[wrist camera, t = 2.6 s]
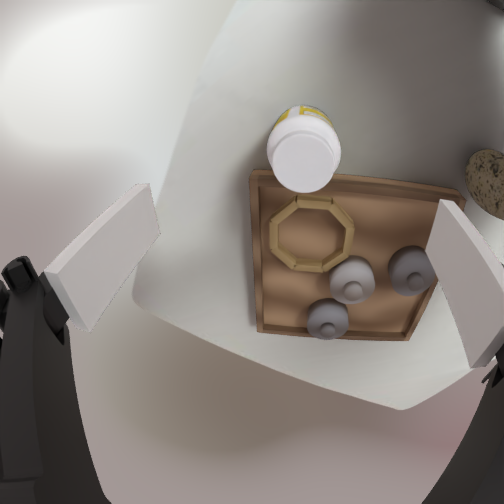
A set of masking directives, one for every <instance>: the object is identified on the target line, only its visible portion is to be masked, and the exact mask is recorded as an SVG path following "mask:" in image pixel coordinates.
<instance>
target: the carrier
mask: <svg viewBox="0 0 504 504" xmlns="http://www.w3.org/2000/svg"><path fill="white" fill-rule="evenodd" d="M249 189H250V208H251V226H252V245H253V264H254V283H255V302H256V321H257V332H260V333H269V334H279V335H290V336H302V337H315V338H318V339H324V340H330V339H348V340H375V341H409V339H410V337H411V336H412V334H413V332H414V330H415V328H416V326H417V324H418V322H419V320H420V318H421V316H422V314H423V312H424V310H425V308H426V306H427V304H428V302H429V300H430V298H431V296H432V293H433V291H434V289H435V287H436V284H437V282H438V277H437V275H436V273H435V271H434V269H433V266H432V264H431V262H430V260H429V258H428V256H427V254H426V252H425V250H426V246H427V243H428V240H429V237H430V234H431V230H432V227H433V223H434V220H435V216H436V212H437V209H438V205H439V201H440V199H443V200H449V201H454V202H455V204H456V205H457V206H458V207H459V208H460V209H461V211H462V212H463V210H464V207H465V203H466V199H465V198H464V197H463V196H462V195H461V194H460V193H459V192H458V191H457V190H455V189H450V188H444V187H438V186H432V185H426V184H419V183H413V182H406V181H398V180H391V179H383V178H374V177H365V176H355V175H344V174H333V176H332V178H331V179H330V181H329V182H328V183H327V184H326V185H325V186H324V187H323V188H321V189H319V190H317V191H314V192H310V193H299V192H295V191H292V190H290V189H288V188H286V187H284V186H283V185H282V184H281V183H280V182H279V181H278V179H277V178H276V176H275V174H274V172H273V170H253V172H252V174H251V176H250V177H249Z"/></svg>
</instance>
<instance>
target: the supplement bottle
mask: <svg viewBox="0 0 504 504" xmlns="http://www.w3.org/2000/svg"><path fill="white" fill-rule="evenodd" d="M267 156H268V160H269V162H270V165H271V167H272V169H273V172H274V174H275V176H276V178H277V179H278V181H279V182H280V183H281V184H282V185H283V186H284V187H286V188H288V189H290V190H292V191H295V192H299V193H310V192H314V191H317V190H319V189H321V188H323V187H324V186H325V185H326V184H327V183H328V182H329V181H330V179H331V178H332V176H333V173H334V172H335V171H336V169H337V167H338V165H339V162H340V159H341V146H340V142H339V139H338V136H337V134H336V132H335V130H334V127H333V125H332V123H331V121H330V120H329V118H328V117H327V116H326V115H325V114H324V113H323V112H322V111H321V110H319V109H317V108H315V107H312V106H307V105H300V106H295V107H292V108H290V109H288V110H287V111H285V112H284V113H283V114H282V115H281V116H280V118H279V119H278V121H277V123H276V125H275V126H274V128H273V130H272V132H271V134H270V136H269V139H268V142H267Z"/></svg>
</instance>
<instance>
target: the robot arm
mask: <svg viewBox="0 0 504 504" xmlns="http://www.w3.org/2000/svg"><path fill="white" fill-rule="evenodd" d="M487 1H489V2H490V3H492V4H493V5H495V6H496V7H498V8H500V9H502V10H504V0H487ZM160 234H161V233H160V229H159V225H158V221H157V216H156V212H155V207H154V203H153V198H152V194H151V189H150V184H136V185H135V186H133V187H132V188H131V189H130V190H128V191H127V192H126V193H125V194H124V195H122V196H121V197H120V198H119V199H118V200H117V201H115V203H113V204H112V205H111V206H110V207H109V208H107V209H106V210H105V211H104V212H103V213H102V214H101V215H100V216H99V217H97V218H96V219H95V220H94V221H93V222H92V223H91V224H90V225H89V226H88V227H87V228H85V229H84V230H83V231H82V232H81V233H80V234H79V235H78V236H77V237H76V238H75V239H74V240H73V241H72V242H71V243H70V244H69V245H68V246H67V247H66V248H65V249H64V250H63V251H62V252H61V253H60V254H59V255H58V256H57V257H56V258H55V259H54V260H53V261H52V262H51V263H50V265H49V266H48V267H47V268H46V269H45V270H44V271H43V272H42V273H41V275H40V276H39V277H38V275H37V273H36V272H35V270H34V268H33V266H32V264H31V262H30V259H29V258H28V257H27V256H21V257H18V258H16V259H14V260H12V261H11V262H10V263H9V264H7V266H6V267H5V268H4V269H3V271H2V273H1V274H2V276H3V278H4V280H5V281H6V283H7V285H8V287H9V288H10V290H7V288H6V286H5V285H4V283H3V281H1V280H0V329H1V330H2V331H3V333H4V334H3V339H1V337H0V504H111V502H109V500H108V499H107V498H106V497H105V495H104V493H103V491H102V488H101V486H100V483H99V480H98V477H97V474H96V471H95V468H94V465H93V461H92V458H91V455H90V451H89V447H88V444H87V440H86V436H85V432H84V428H83V424H82V419H81V415H80V410H79V404H78V399H77V393H76V387H75V381H74V374H73V366H72V358H71V349H70V336H69V329H68V326H67V325H66V321H67V320H68V319H69V318H70V319H71V321H72V322H73V324H74V326H75V327H76V328H77V329H80V330H83V331H87V332H89V333H90V332H91V331H92V330H93V328H94V326H95V325H96V323H97V322H98V320H99V319H100V317H101V316H102V314H103V313H104V311H105V310H106V308H107V307H108V305H109V304H110V302H111V300H112V299H113V298H114V296H115V295H116V293H117V292H118V290H119V289H120V288H121V286H122V285H123V283H124V282H125V281H126V279H127V278H128V276H129V275H130V274H131V272H132V271H133V270H134V268H135V267H136V265H137V264H138V263H139V261H140V260H141V259H142V257H143V256H144V255H145V253H146V252H147V251H148V249H149V248H150V247H151V245H152V244H153V243H154V241H155V240H156V239H157V238H158V236H159V235H160ZM425 252H426V254H427V256H428V258H429V260H430V262H431V264H432V266H433V269H434V271H435V273H436V275H437V277H438V280H439V282H440V284H441V287H442V289H443V291H444V294H445V296H446V299H447V301H448V304H449V306H450V309H451V311H452V314H453V317H454V319H455V322H456V325H457V328H458V330H459V333H460V336H461V339H462V342H463V345H464V349H465V352H466V355H467V359H468V362H469V365H470V368H478V367H485V366H486V365H487V364H488V363H489V362H490V361H491V360H492V358H493V357H494V356H496V359H497V362H498V363H497V364H496V365H495V366H494V368H493V369H492V370H491V371H490V372H489V373H488V374H487V375H486V376H485V378H484V379H483V380H482V383H484V382H485V381H486V380H487V379H489V381H488V384H487V385H486V389H485V391H484V394H483V396H482V399H481V401H480V404H479V406H478V408H477V411H476V413H475V415H474V417H473V419H472V422H471V424H470V426H469V428H468V430H467V432H466V434H465V436H464V438H463V440H462V441H461V443H460V445H459V447H458V449H457V450H456V452H455V454H454V456H453V458H452V459H451V461H450V462H449V464H448V466H447V467H446V469H445V471H444V472H443V474H442V475H441V477H440V478H439V480H438V482H437V483H436V484H435V486H434V487H433V489H432V490H431V492H430V493H429V494H428V496H427V497H426V498H425V500H424V501H423V502H422V504H504V265H503V264H502V263H501V262H500V261H499V260H498V258H497V257H496V255H495V254H494V252H493V251H492V249H491V248H490V247H489V245H488V244H487V242H486V241H485V240H484V238H483V237H482V236H481V234H480V233H479V232H478V230H477V229H476V228H475V227H474V225H473V224H472V223H471V222H470V220H469V219H468V218H467V217H466V215H465V214H464V213H463V212H462V211H461V209H460V208H459V207H458V206H457V205H456V204H455V202H454V201H449V200H443V199H440V201H439V205H438V209H437V212H436V216H435V220H434V223H433V227H432V230H431V234H430V237H429V240H428V243H427V246H426V250H425Z"/></svg>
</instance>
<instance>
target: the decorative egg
mask: <svg viewBox="0 0 504 504" xmlns="http://www.w3.org/2000/svg"><path fill="white" fill-rule="evenodd" d="M465 181H466V185H467V188H468V191H469V193H470V195H471V196H472V198H473V199H474V200H475V202H476V203H477V204H478V205H479V206H480V207H481V208H483V209H484V210H485V211H486V212H488V213H489V214H491V215H493V216H495V217H497V218H499V219H502V220H504V155H503V154H502V153H500V152H498V151H495V150H491V149H484V150H480V151H478V152H476V153H474V154H473V155H472V156H471V157H470V159H469V160H468V162H467V165H466V169H465Z"/></svg>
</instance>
